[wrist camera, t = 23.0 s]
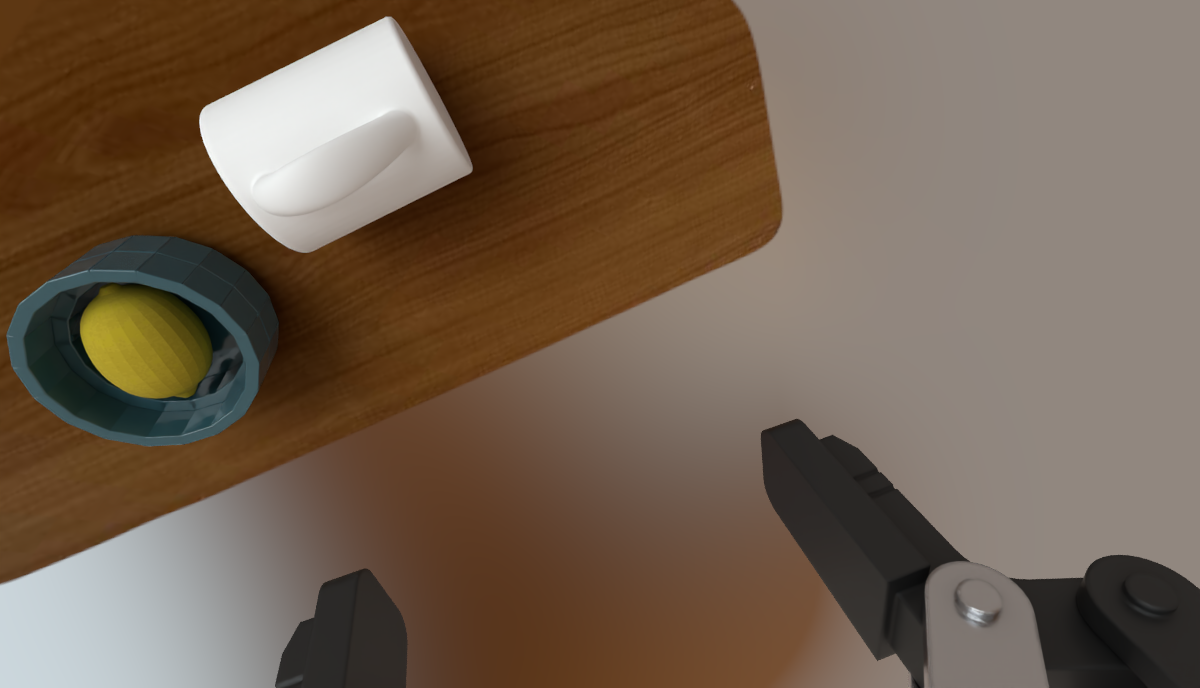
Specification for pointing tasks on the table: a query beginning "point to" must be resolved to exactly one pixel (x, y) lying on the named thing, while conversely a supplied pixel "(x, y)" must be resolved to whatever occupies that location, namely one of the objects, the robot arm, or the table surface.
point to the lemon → (146, 341)
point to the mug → (335, 139)
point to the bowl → (197, 278)
